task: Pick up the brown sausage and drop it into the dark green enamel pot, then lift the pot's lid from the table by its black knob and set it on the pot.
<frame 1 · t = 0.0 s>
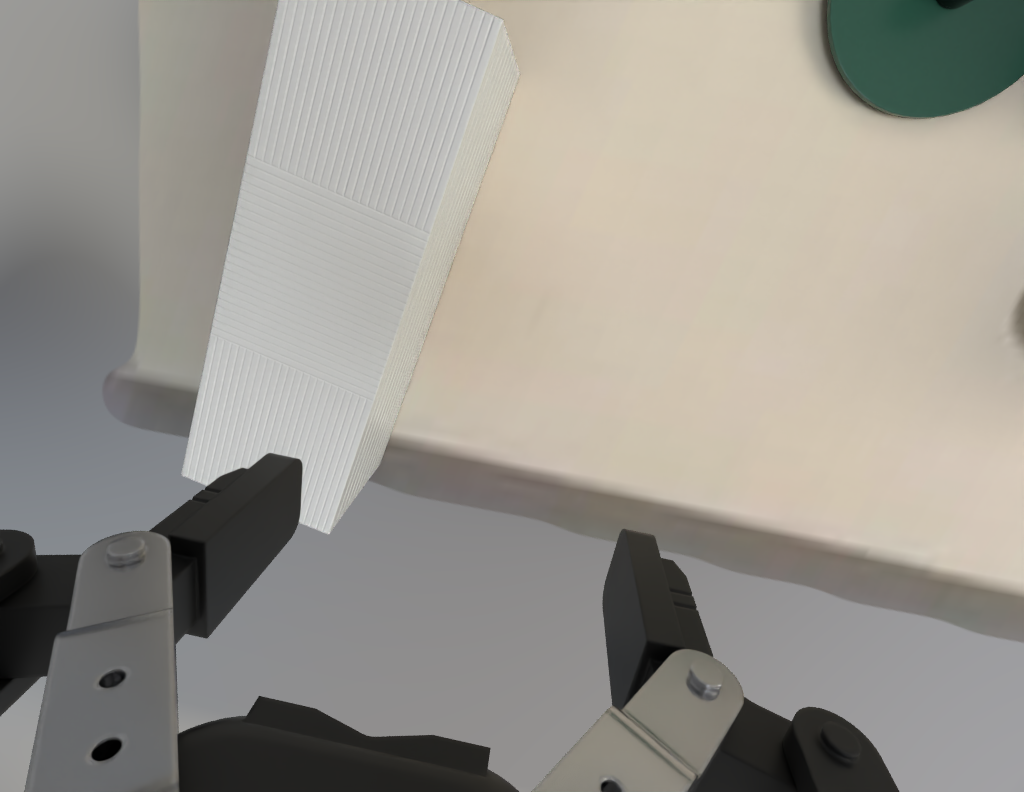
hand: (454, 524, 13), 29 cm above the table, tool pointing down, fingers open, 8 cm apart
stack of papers: (377, 267, 41), on the table
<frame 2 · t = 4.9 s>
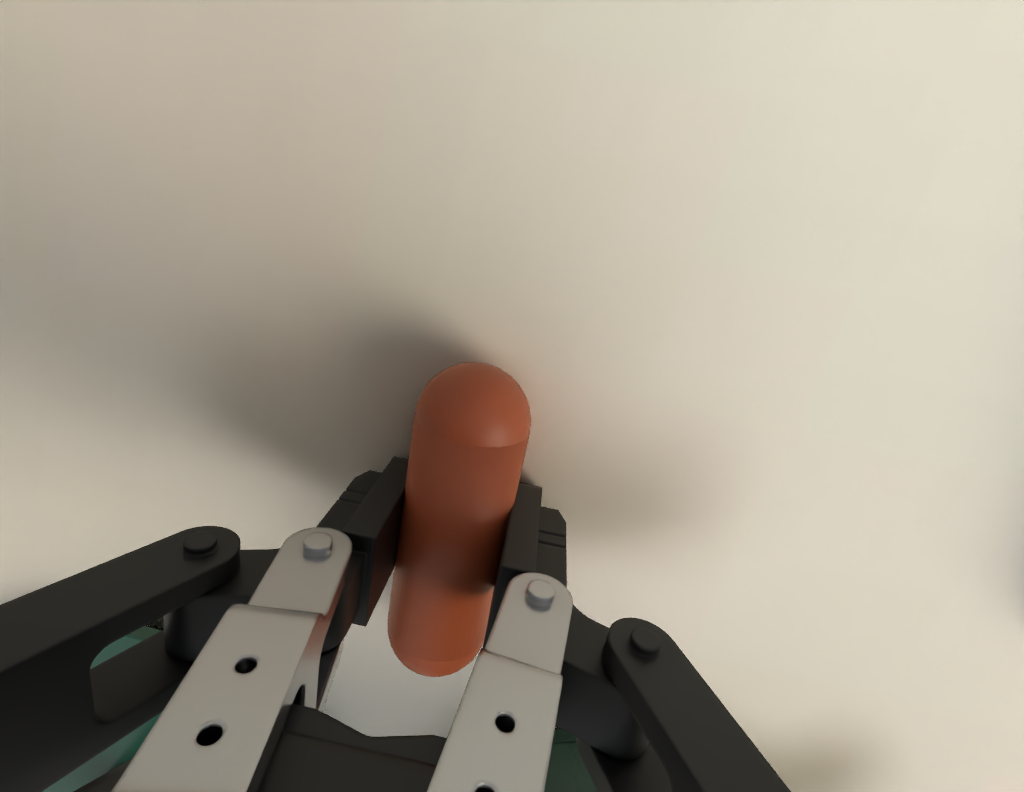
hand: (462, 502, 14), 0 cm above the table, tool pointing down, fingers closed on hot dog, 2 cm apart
lid: (148, 777, 18), point 1 cm above the table
hot dog: (463, 500, 14), on the table, touching gripper
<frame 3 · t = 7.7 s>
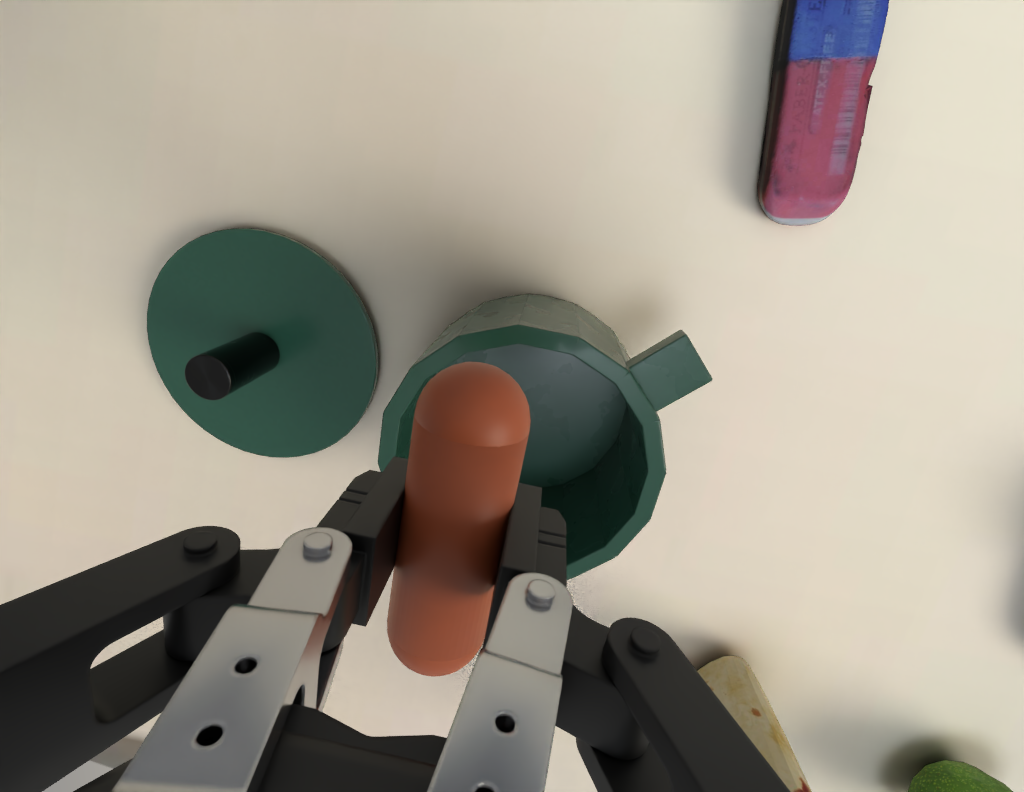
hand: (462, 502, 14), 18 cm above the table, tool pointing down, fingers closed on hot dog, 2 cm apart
avocado: (931, 769, 39), on the table
lid: (265, 349, 31), point 1 cm above the table
eraser: (805, 101, 25), on the table
food model: (706, 688, 38), on the table
hot dog: (463, 500, 14), point 17 cm above the table, touching gripper
pot: (528, 401, 32), on the table
when the fingers open (6 cm above the table, at t = 10.8 s): hot dog drops 5 cm, resting on pot.
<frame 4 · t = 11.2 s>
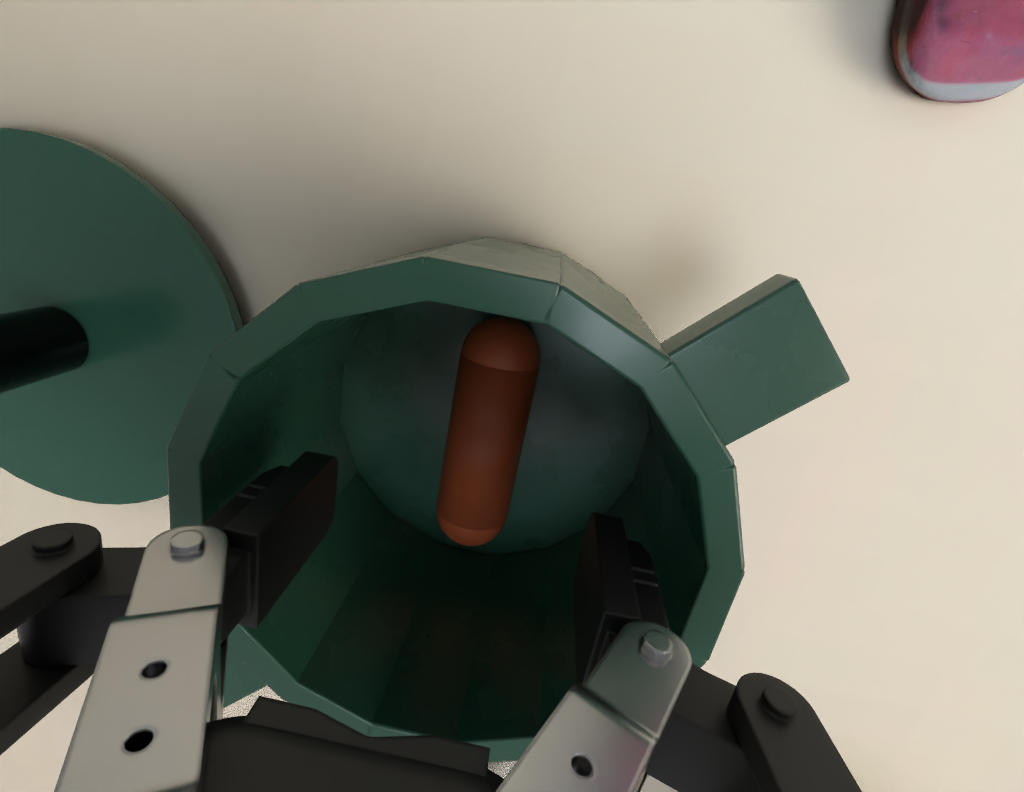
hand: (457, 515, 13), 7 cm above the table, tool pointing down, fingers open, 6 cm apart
lid: (70, 335, 20), point 1 cm above the table
hot dog: (490, 422, 19), resting on pot
pot: (492, 417, 20), on the table
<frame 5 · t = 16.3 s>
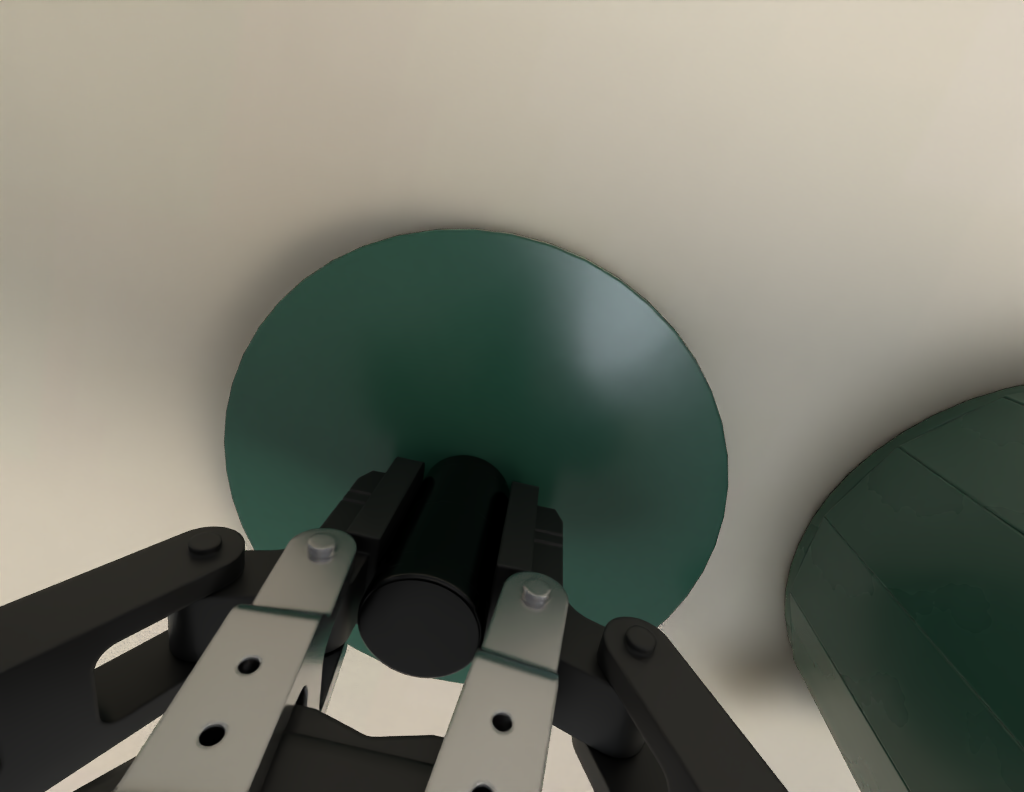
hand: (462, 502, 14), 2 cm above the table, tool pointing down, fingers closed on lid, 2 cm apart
lid: (469, 484, 15), point 1 cm above the table, touching gripper
pot: (1020, 590, 15), on the table
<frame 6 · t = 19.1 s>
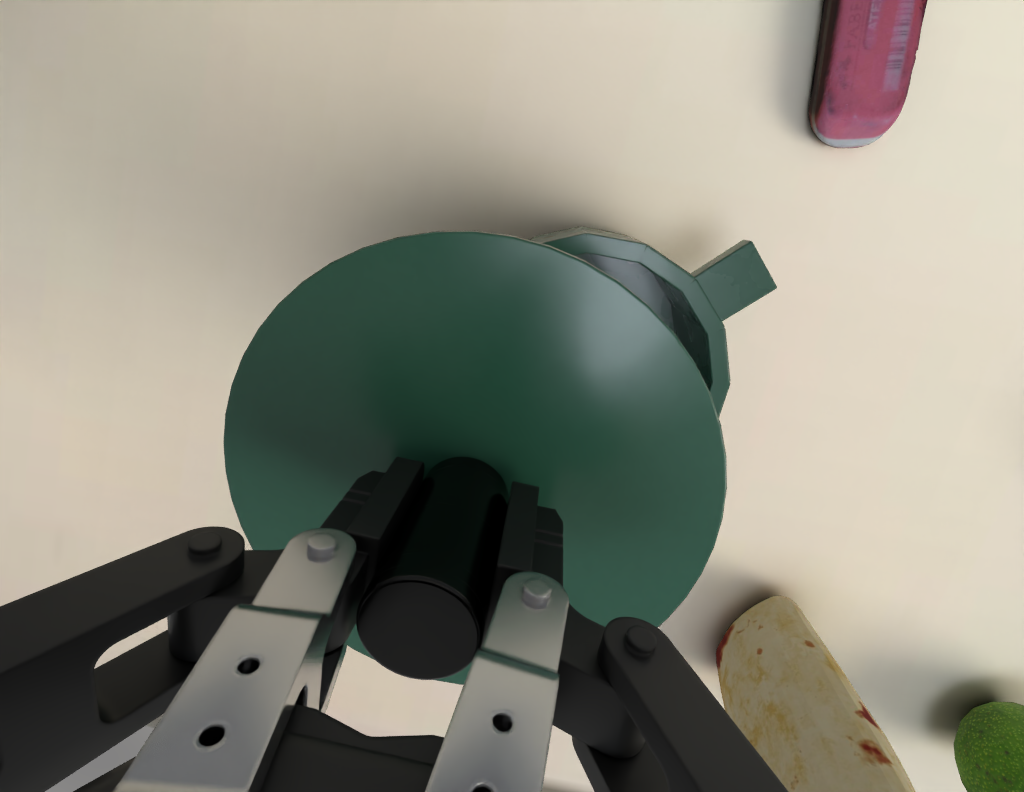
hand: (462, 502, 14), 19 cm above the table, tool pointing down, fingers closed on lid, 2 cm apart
avocado: (979, 713, 39), on the table
lid: (468, 485, 15), point 18 cm above the table, touching gripper
eraser: (857, 21, 26), on the table
food model: (752, 633, 38), on the table
pot: (577, 338, 32), on the table
when the fingers open (9 cm above the table, at t = 21.9 s): lid stays where it is, resting on pot.
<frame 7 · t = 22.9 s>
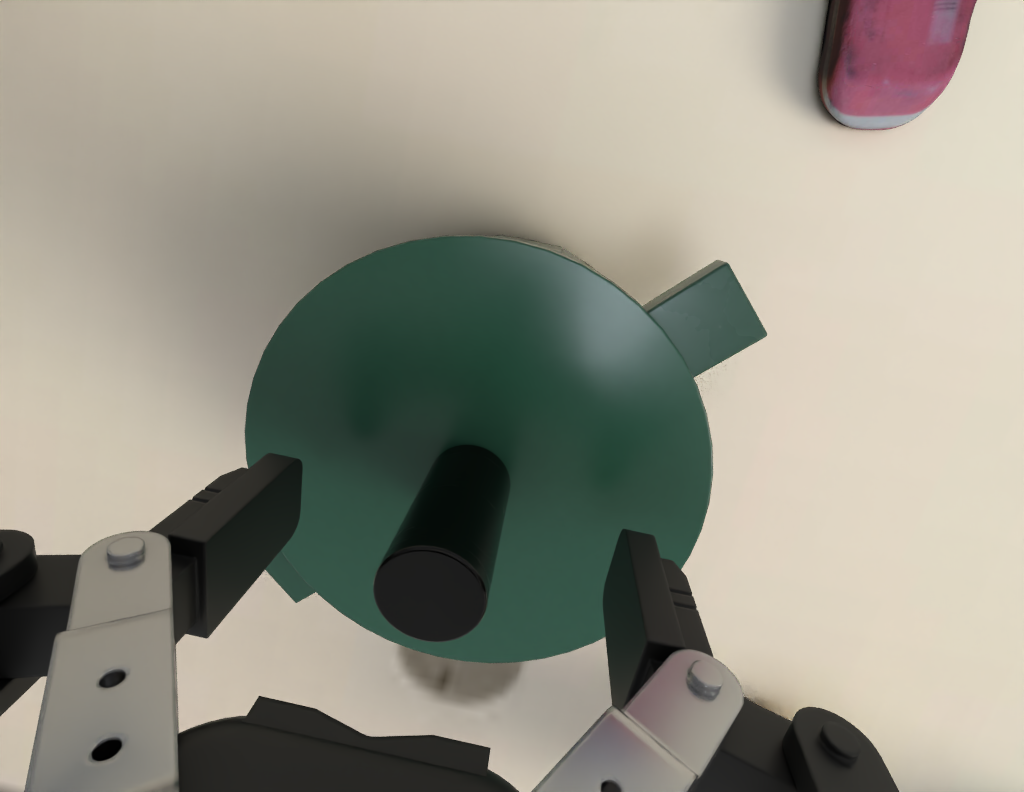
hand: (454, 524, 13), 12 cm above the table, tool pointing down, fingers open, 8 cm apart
lid: (473, 472, 16), point 8 cm above the table, touching pot
pot: (504, 384, 24), on the table
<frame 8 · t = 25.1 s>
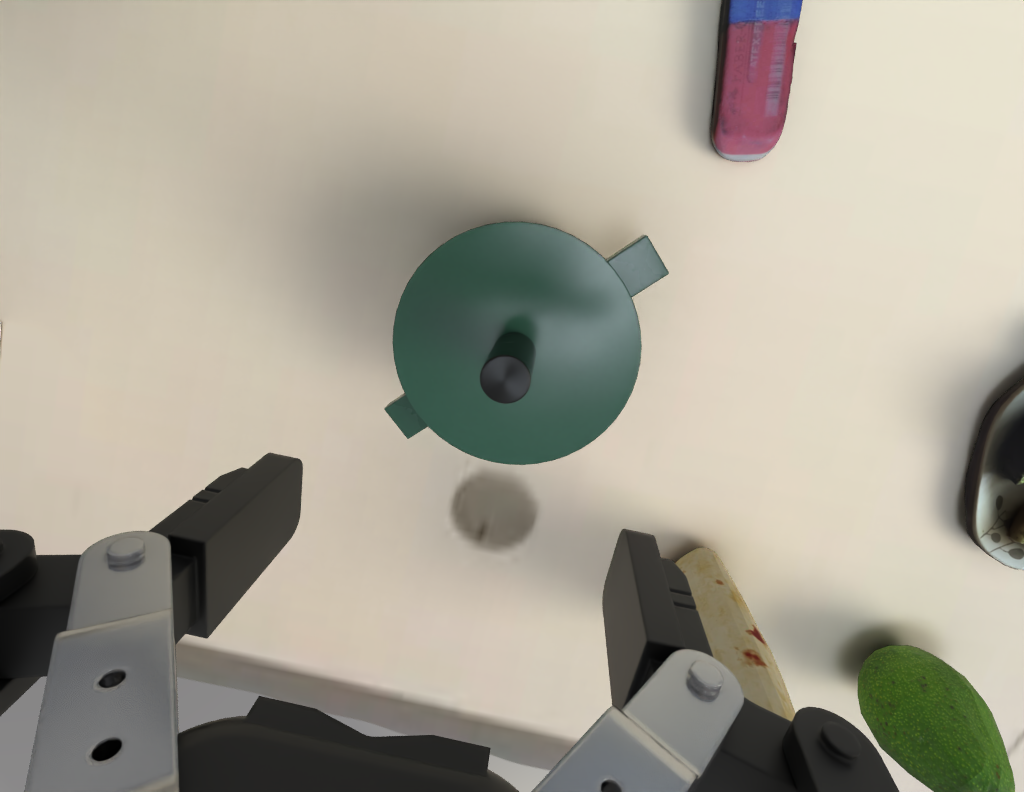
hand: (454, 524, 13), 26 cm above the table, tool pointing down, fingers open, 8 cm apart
avocado: (883, 657, 44), on the table
lid: (515, 350, 29), point 8 cm above the table, touching pot
eraser: (747, 59, 31), on the table
food model: (683, 583, 44), on the table
pot: (525, 319, 37), on the table
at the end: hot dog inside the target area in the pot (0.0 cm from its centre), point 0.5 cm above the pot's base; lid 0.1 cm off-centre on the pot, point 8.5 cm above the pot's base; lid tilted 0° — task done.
